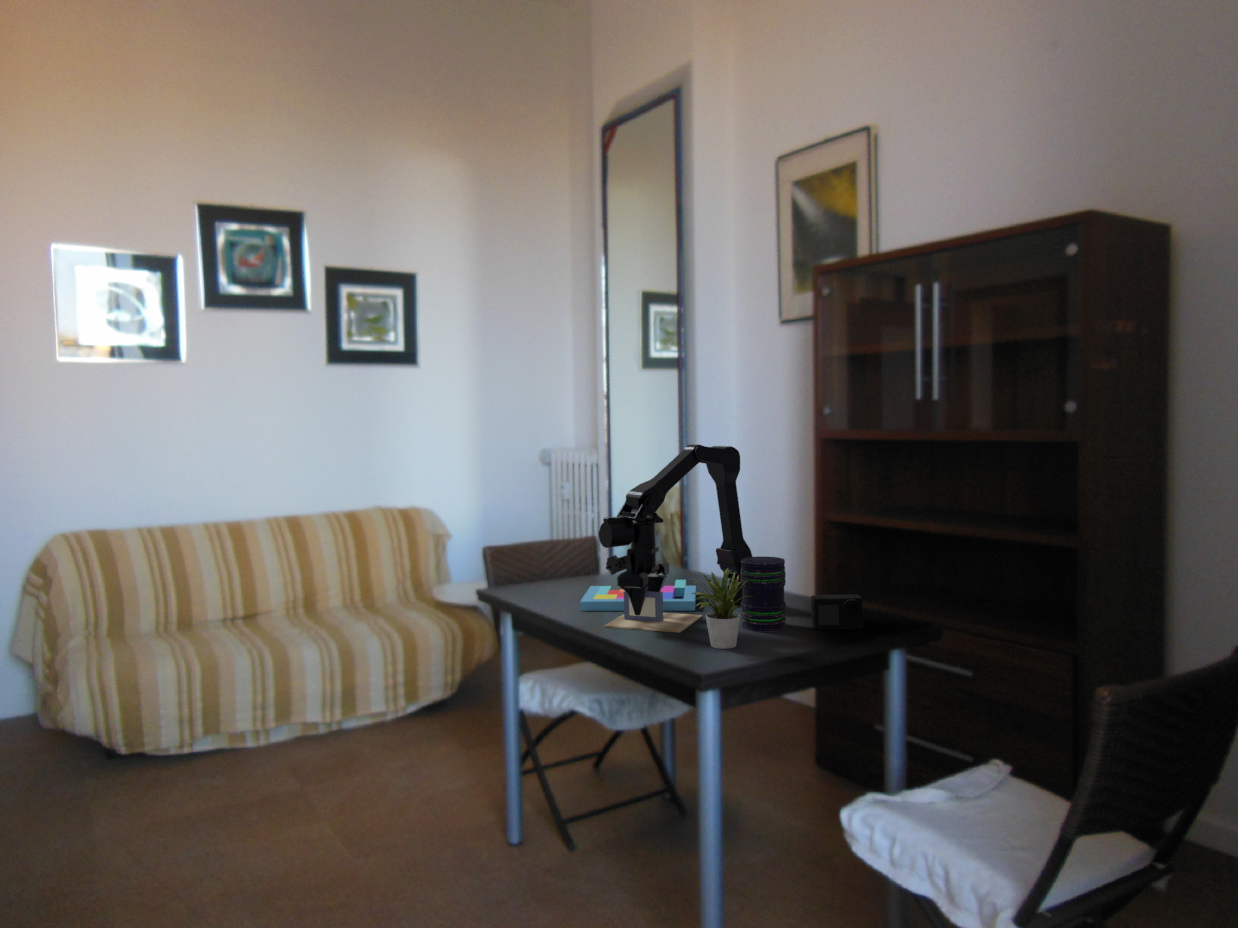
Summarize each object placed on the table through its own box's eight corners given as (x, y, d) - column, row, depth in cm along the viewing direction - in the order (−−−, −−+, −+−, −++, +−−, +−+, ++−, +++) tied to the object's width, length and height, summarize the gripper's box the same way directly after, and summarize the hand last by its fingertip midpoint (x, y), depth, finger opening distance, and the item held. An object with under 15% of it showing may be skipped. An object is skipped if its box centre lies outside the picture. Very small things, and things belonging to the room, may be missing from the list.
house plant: (690, 634, 193) (688, 559, 192) (755, 635, 190) (753, 559, 190) (684, 652, 179) (682, 571, 178) (754, 653, 176) (753, 571, 176)
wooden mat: (701, 616, 210) (701, 614, 210) (680, 632, 195) (680, 630, 195) (630, 611, 216) (630, 610, 216) (604, 627, 202) (604, 625, 202)
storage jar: (786, 622, 202) (785, 556, 201) (786, 632, 193) (785, 563, 192) (742, 621, 204) (741, 556, 203) (740, 631, 194) (738, 563, 194)
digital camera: (816, 631, 193) (815, 599, 193) (810, 626, 198) (810, 594, 198) (864, 630, 193) (864, 598, 192) (857, 624, 198) (857, 593, 198)
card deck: (663, 620, 205) (662, 592, 205) (660, 621, 204) (660, 593, 203) (626, 617, 208) (626, 590, 208) (624, 619, 207) (623, 591, 207)
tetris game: (695, 612, 216) (696, 589, 244) (694, 601, 216) (696, 579, 244) (580, 612, 219) (594, 590, 247) (580, 601, 219) (594, 580, 247)
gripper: (625, 536, 217) (627, 600, 217) (594, 548, 199) (596, 617, 200) (669, 538, 212) (670, 603, 213) (641, 550, 195) (642, 620, 196)
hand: (644, 610), depth 206 cm, fingers open, 9 cm apart
